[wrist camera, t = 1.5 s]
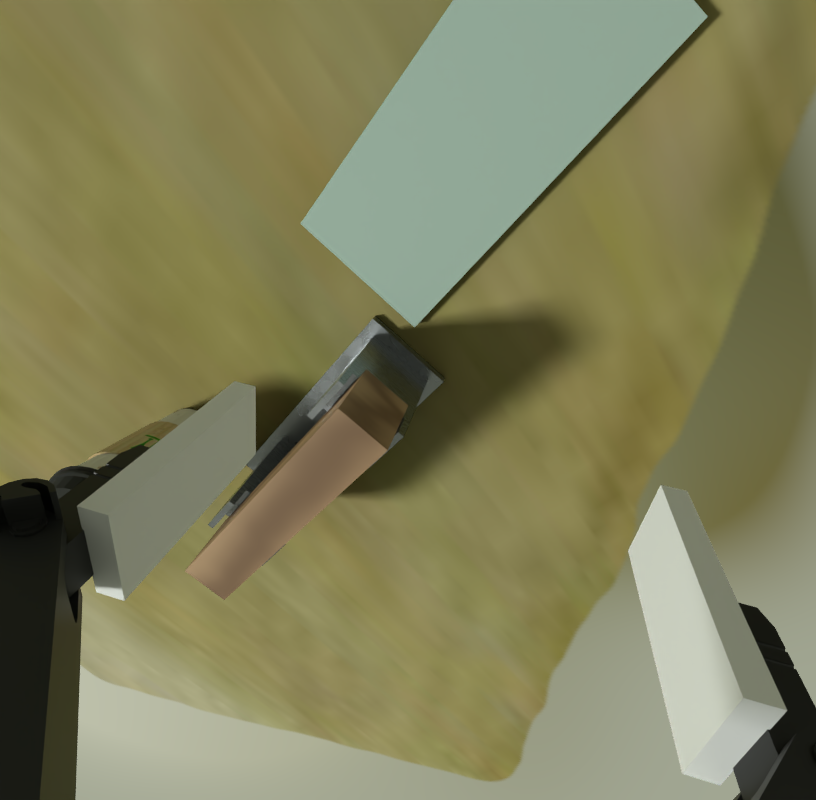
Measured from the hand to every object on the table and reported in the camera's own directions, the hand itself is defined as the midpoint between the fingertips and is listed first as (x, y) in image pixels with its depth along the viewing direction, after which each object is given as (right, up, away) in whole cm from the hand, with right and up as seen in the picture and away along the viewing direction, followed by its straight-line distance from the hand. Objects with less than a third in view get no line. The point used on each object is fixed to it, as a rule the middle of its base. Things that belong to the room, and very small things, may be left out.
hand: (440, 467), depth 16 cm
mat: (+3, +20, +18) cm, 28 cm away
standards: (-8, 0, +32) cm, 33 cm away
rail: (-10, -4, +25) cm, 27 cm away
